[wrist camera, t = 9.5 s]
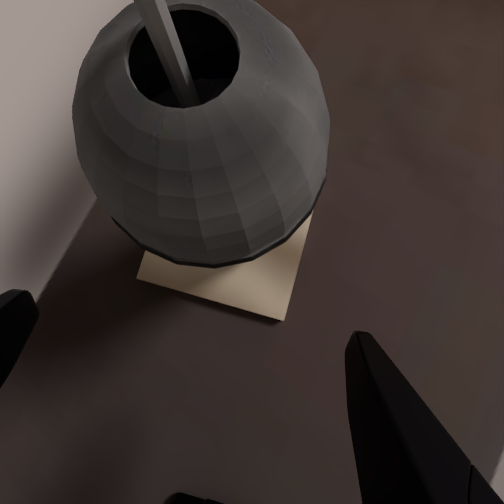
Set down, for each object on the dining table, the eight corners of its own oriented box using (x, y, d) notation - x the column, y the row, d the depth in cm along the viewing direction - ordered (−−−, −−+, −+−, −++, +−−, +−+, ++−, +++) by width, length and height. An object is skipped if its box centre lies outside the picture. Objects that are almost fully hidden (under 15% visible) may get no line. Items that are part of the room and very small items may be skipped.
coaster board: (282, 320, 21) (283, 321, 20) (140, 279, 22) (136, 278, 21) (319, 181, 22) (321, 177, 22) (184, 145, 23) (182, 139, 22)
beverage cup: (224, 306, 20) (-660, 651, 1) (157, 220, 21) (-1162, -807, 1) (310, 236, 21) (1228, -692, 1) (242, 155, 22) (135, -1213, 2)
